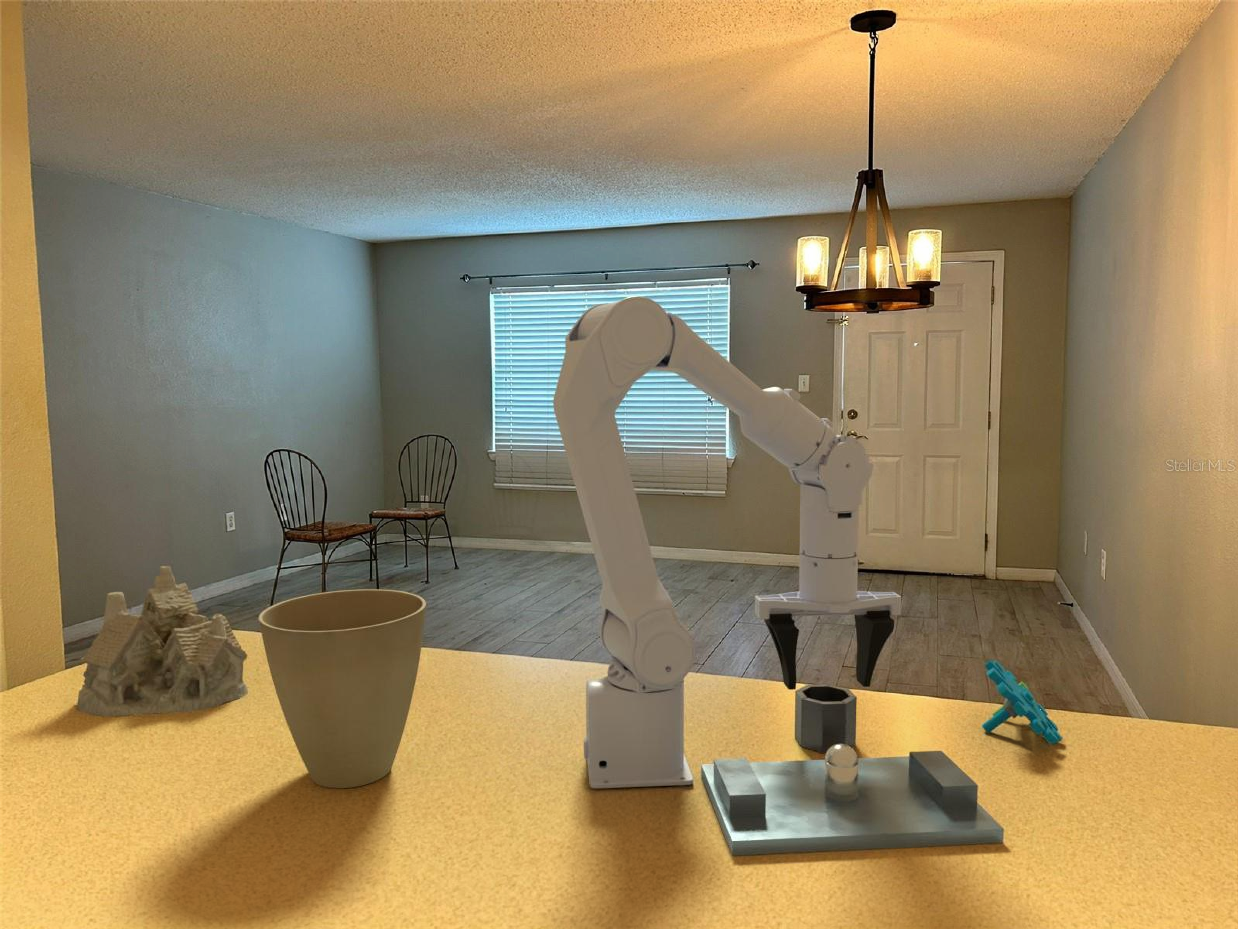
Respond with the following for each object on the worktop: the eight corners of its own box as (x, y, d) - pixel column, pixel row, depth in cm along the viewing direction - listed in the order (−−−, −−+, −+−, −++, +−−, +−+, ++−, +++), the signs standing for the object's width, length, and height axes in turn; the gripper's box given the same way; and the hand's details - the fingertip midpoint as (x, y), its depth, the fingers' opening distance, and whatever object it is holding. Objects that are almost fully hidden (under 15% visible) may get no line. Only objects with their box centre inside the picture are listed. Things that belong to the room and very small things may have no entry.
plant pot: (345, 731, 96) (340, 583, 94) (461, 756, 89) (457, 598, 88) (229, 789, 82) (221, 617, 81) (355, 824, 76) (349, 638, 74)
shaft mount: (732, 855, 71) (732, 786, 70) (701, 776, 85) (701, 718, 84) (1003, 843, 72) (1005, 775, 72) (929, 767, 86) (931, 711, 86)
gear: (1066, 747, 87) (990, 662, 90) (1016, 782, 89) (944, 698, 92) (1068, 723, 97) (1000, 648, 100) (1023, 755, 99) (958, 680, 102)
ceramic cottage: (63, 699, 105) (63, 573, 103) (204, 669, 118) (206, 556, 116) (115, 743, 95) (117, 603, 93) (264, 705, 107) (267, 582, 106)
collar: (805, 753, 90) (806, 704, 89) (790, 731, 95) (790, 685, 95) (861, 751, 90) (862, 703, 90) (842, 729, 96) (843, 683, 95)
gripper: (767, 563, 86) (766, 701, 88) (915, 559, 87) (911, 696, 89) (750, 549, 93) (749, 677, 95) (887, 545, 94) (884, 672, 96)
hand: (826, 685), depth 92 cm, fingers open, 7 cm apart
